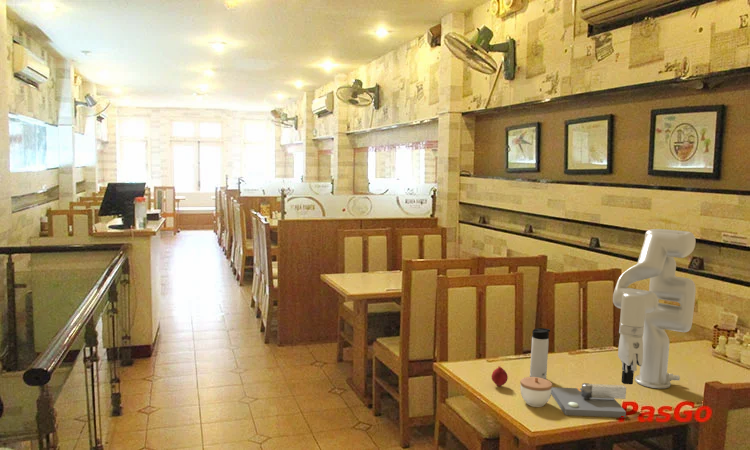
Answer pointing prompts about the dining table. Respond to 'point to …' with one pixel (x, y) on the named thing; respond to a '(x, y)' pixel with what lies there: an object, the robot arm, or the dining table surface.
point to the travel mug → (539, 353)
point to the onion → (499, 376)
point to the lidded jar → (535, 391)
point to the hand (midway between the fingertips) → (627, 383)
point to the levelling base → (585, 404)
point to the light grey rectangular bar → (603, 391)
